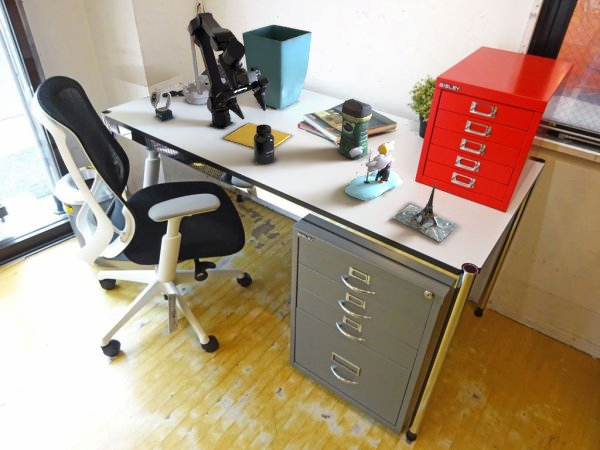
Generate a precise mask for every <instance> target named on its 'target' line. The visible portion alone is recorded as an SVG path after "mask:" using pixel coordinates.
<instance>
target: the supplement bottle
mask: <svg viewBox="0 0 600 450" xmlns="http://www.w3.org/2000/svg"><path fill="white" fill-rule="evenodd" d="M271 130H272V126H271V125H270V124H266V123H263V124H259V125H257V127H256V134H255V135H254V148H253V160H254V162H255V163H256V164H258V165H262V166H266V165H271V164H273V163H274V162H275V155H276V154H275V147H274V136H273V134H271Z"/></svg>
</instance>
